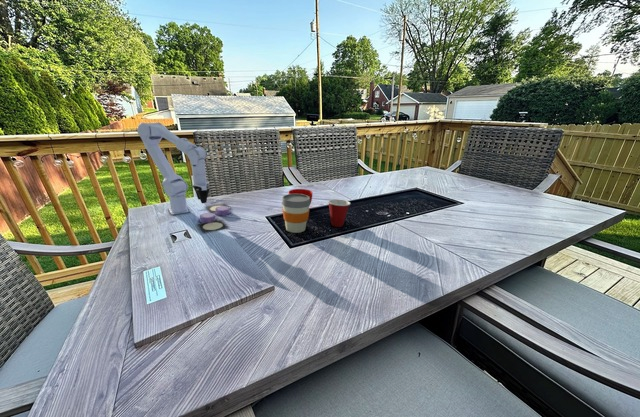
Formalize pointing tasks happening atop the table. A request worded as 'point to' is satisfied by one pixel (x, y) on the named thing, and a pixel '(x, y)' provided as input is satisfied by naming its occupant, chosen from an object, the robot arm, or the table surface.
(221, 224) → the pad
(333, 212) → the plastic cup
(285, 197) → the reusable coffee cup
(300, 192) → the ceramic cup
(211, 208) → the pad
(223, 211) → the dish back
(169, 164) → the robot arm
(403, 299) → the table surface
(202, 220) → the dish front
